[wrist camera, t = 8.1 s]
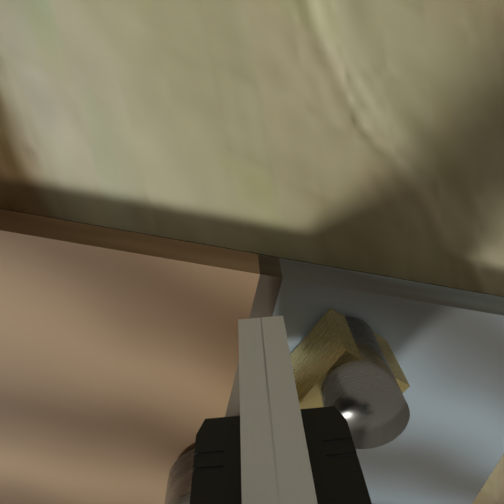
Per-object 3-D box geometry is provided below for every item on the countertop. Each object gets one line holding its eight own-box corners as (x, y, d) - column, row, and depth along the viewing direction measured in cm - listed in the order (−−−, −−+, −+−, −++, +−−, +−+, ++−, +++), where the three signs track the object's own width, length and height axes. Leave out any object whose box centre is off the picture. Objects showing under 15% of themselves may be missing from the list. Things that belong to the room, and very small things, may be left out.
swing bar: (235, 524, 20) (235, 616, 17) (150, 492, 19) (132, 584, 16) (408, 346, 16) (451, 422, 13) (312, 291, 15) (334, 360, 12)
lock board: (407, 556, 25) (442, 658, 21) (-40, 513, 22) (-103, 622, 18) (554, 305, 18) (650, 385, 14) (-73, 196, 15) (-189, 254, 11)
